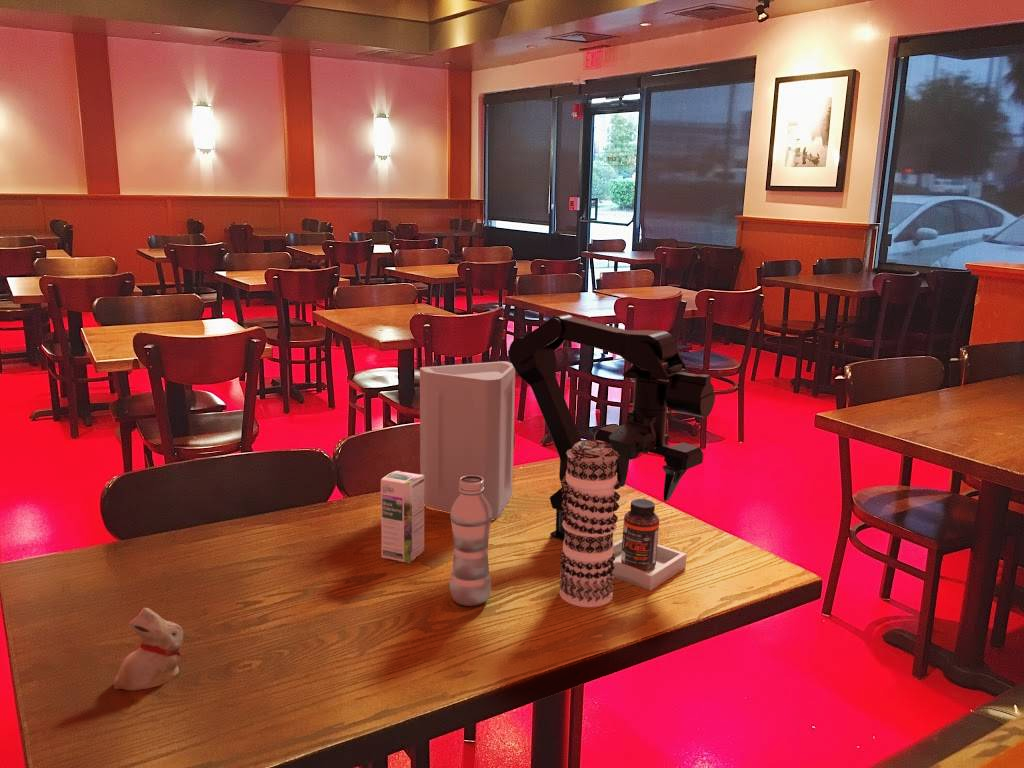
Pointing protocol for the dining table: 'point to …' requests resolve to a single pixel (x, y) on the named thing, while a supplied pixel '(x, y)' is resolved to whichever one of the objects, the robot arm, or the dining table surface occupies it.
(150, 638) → the chocolate bunny
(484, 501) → the plastic bottle
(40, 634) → the dining table surface
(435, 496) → the triangular storage bin
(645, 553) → the supplement bottle
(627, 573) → the tray
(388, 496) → the syrup box
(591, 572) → the decorative candle
